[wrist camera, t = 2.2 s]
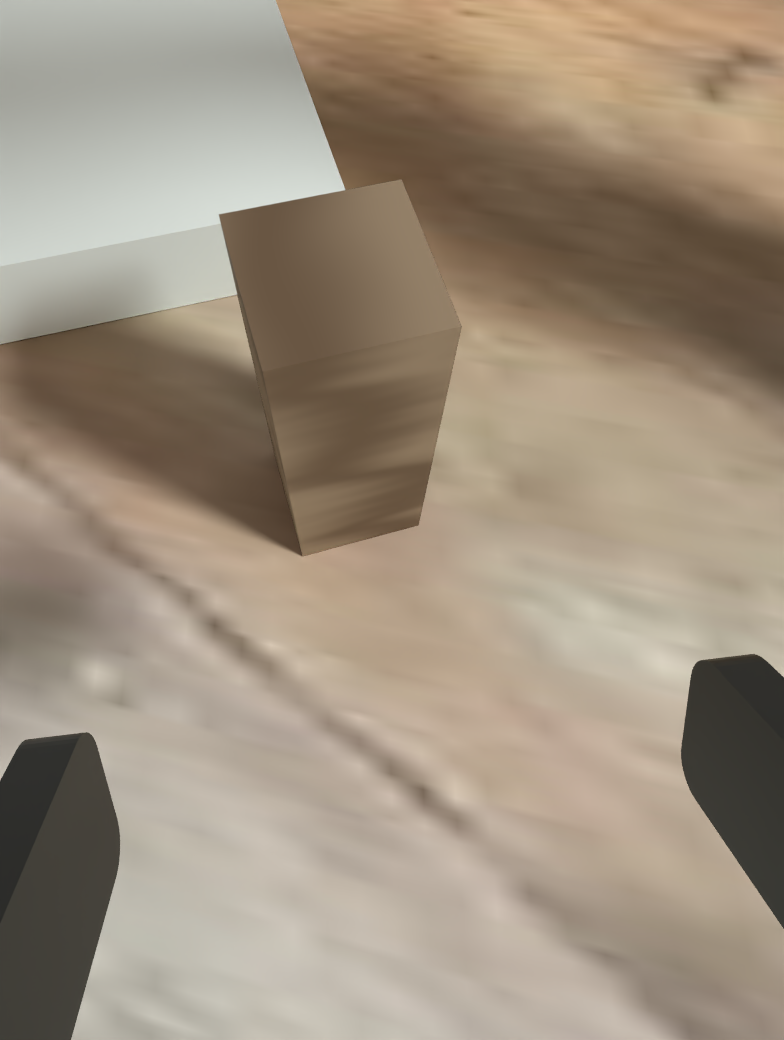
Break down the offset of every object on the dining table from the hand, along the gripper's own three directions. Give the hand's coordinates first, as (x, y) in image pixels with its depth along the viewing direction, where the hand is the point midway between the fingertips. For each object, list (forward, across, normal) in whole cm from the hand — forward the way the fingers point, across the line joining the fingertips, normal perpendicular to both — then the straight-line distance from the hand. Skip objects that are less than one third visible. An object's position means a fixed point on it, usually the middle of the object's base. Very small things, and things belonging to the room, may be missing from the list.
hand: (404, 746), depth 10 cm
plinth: (+31, +10, -10) cm, 34 cm away
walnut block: (+18, 0, +3) cm, 18 cm away
